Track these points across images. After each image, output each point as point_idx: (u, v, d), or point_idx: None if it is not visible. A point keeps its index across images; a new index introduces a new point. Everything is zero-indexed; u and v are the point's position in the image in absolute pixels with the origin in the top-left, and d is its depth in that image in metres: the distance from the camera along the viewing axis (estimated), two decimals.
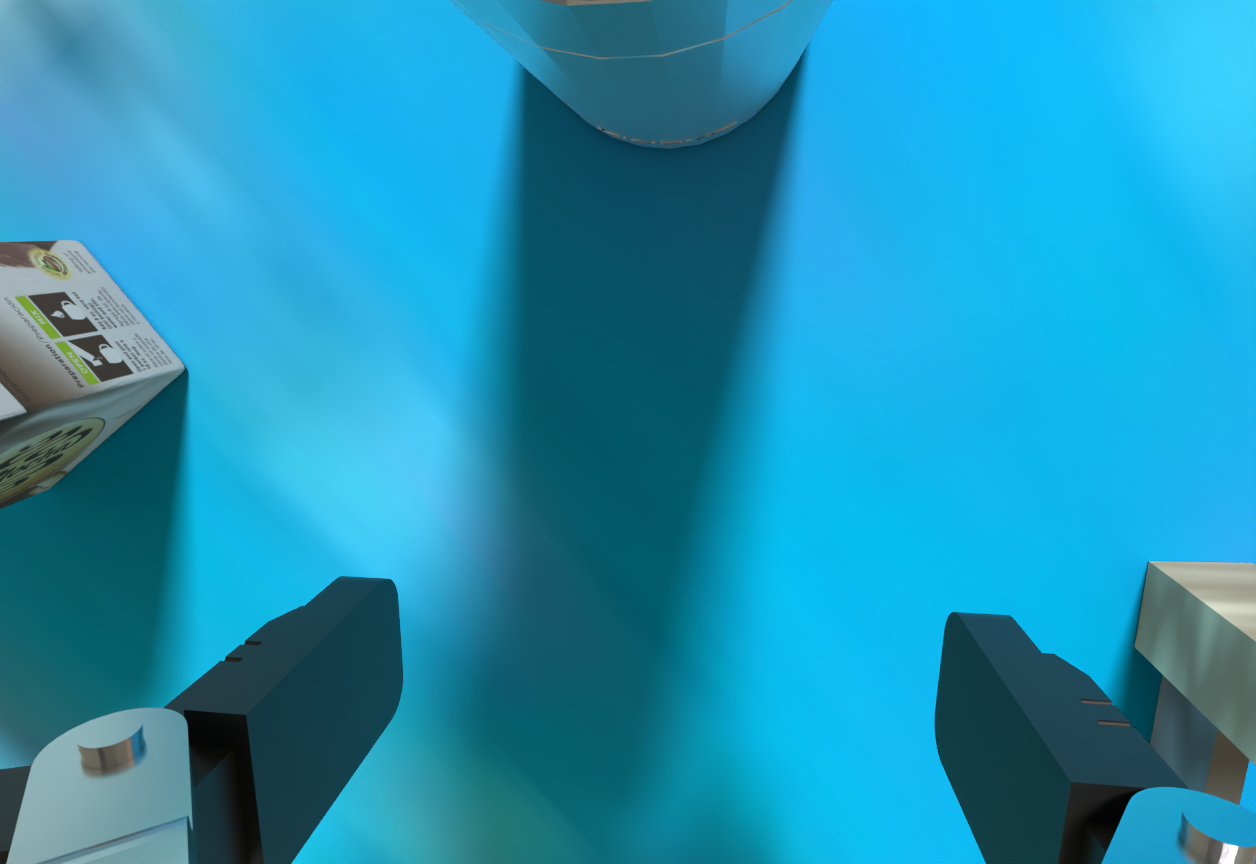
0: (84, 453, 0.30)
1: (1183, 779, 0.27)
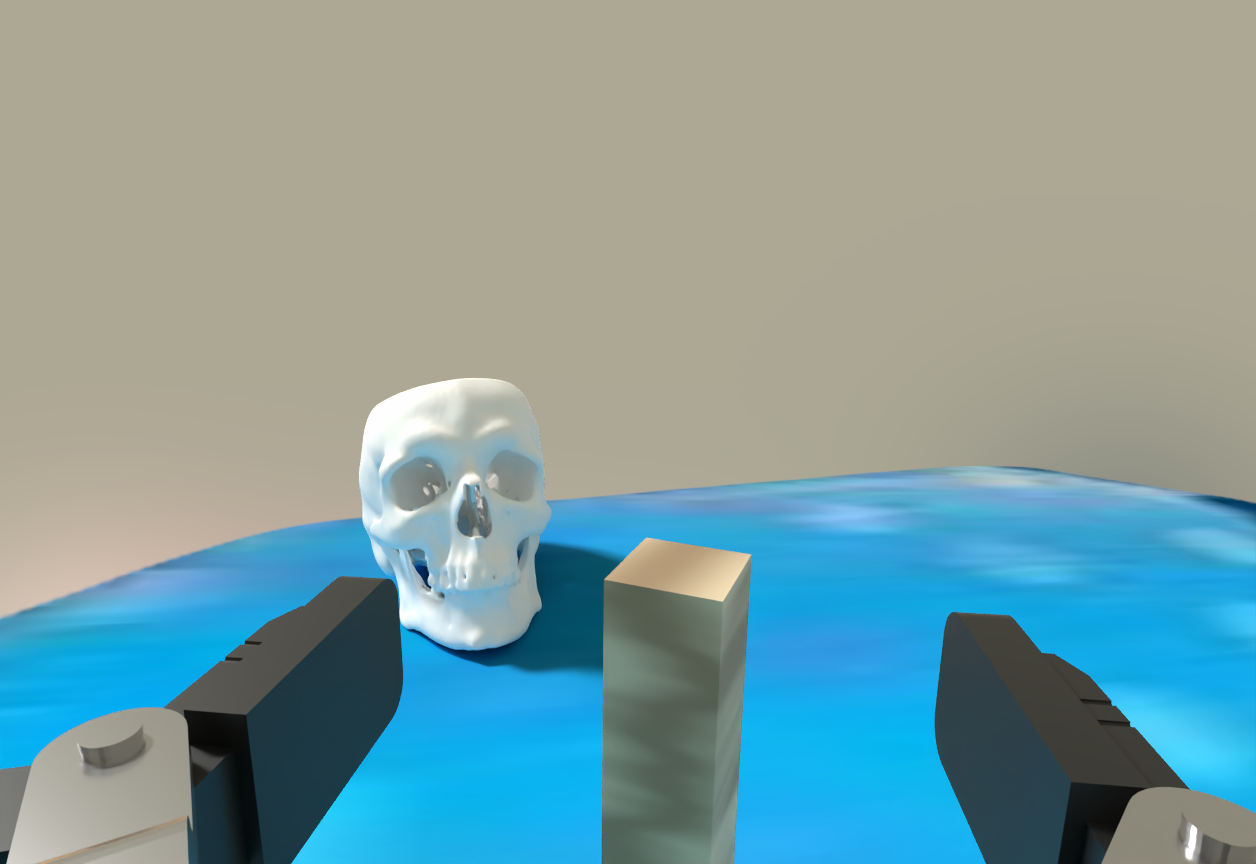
0: None
1: None
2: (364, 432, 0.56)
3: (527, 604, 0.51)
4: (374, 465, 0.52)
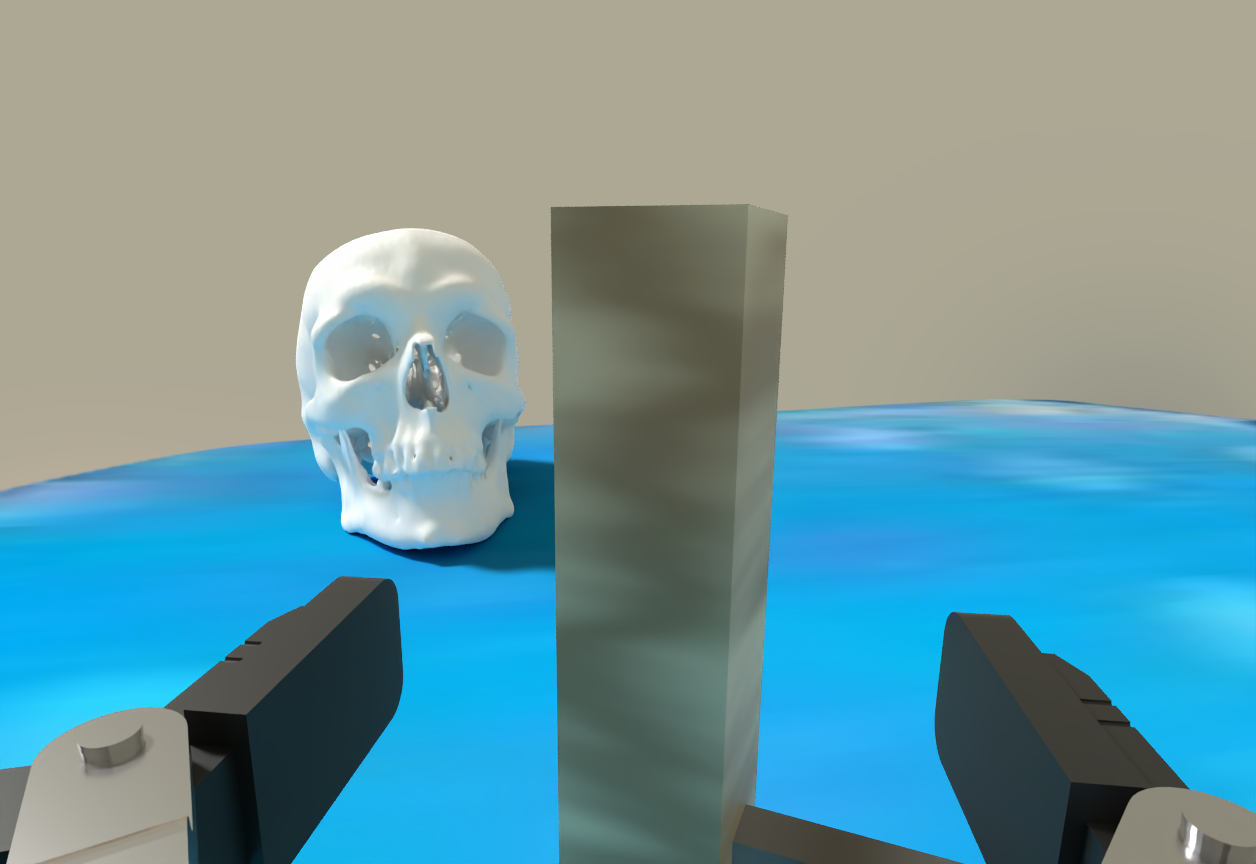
0: None
1: None
2: None
3: (494, 502, 0.42)
4: (309, 338, 0.43)
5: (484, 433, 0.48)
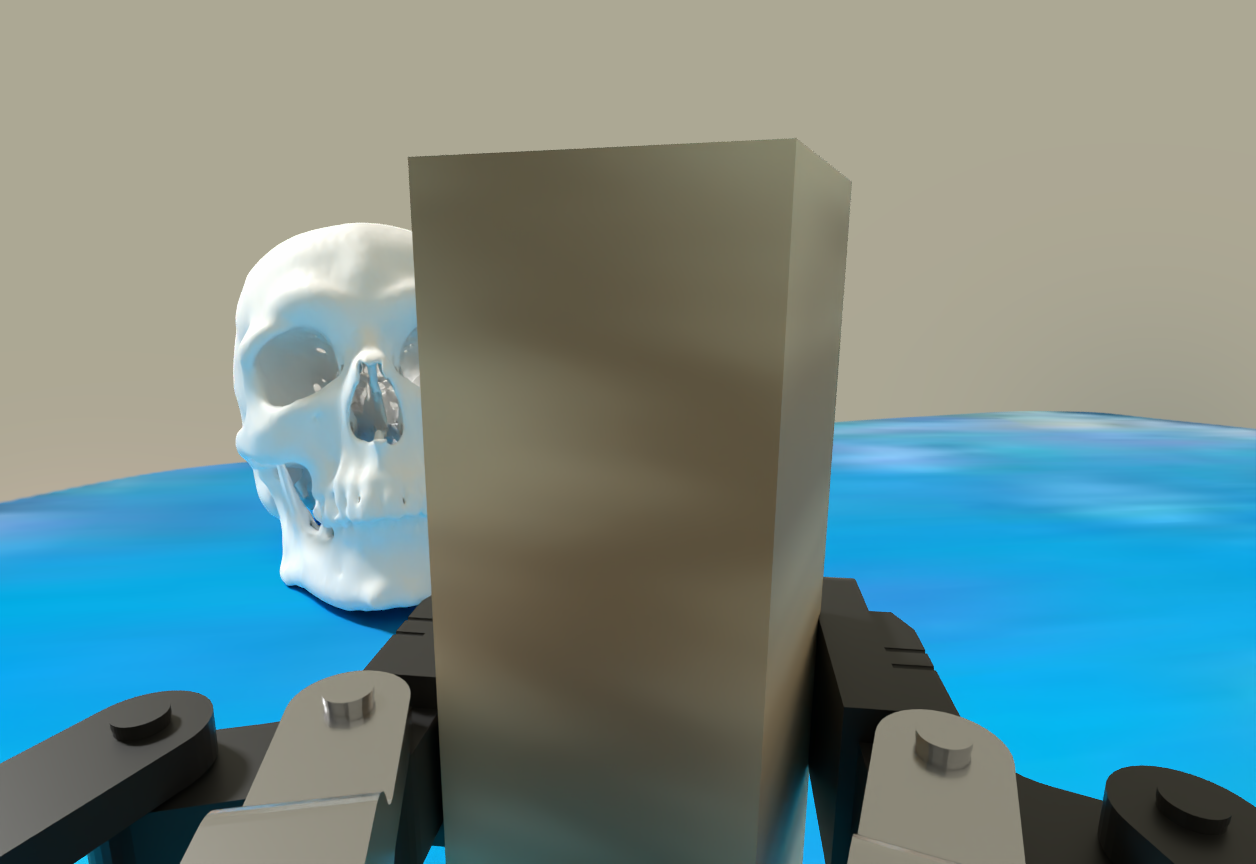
0: None
1: None
2: None
3: None
4: None
5: None
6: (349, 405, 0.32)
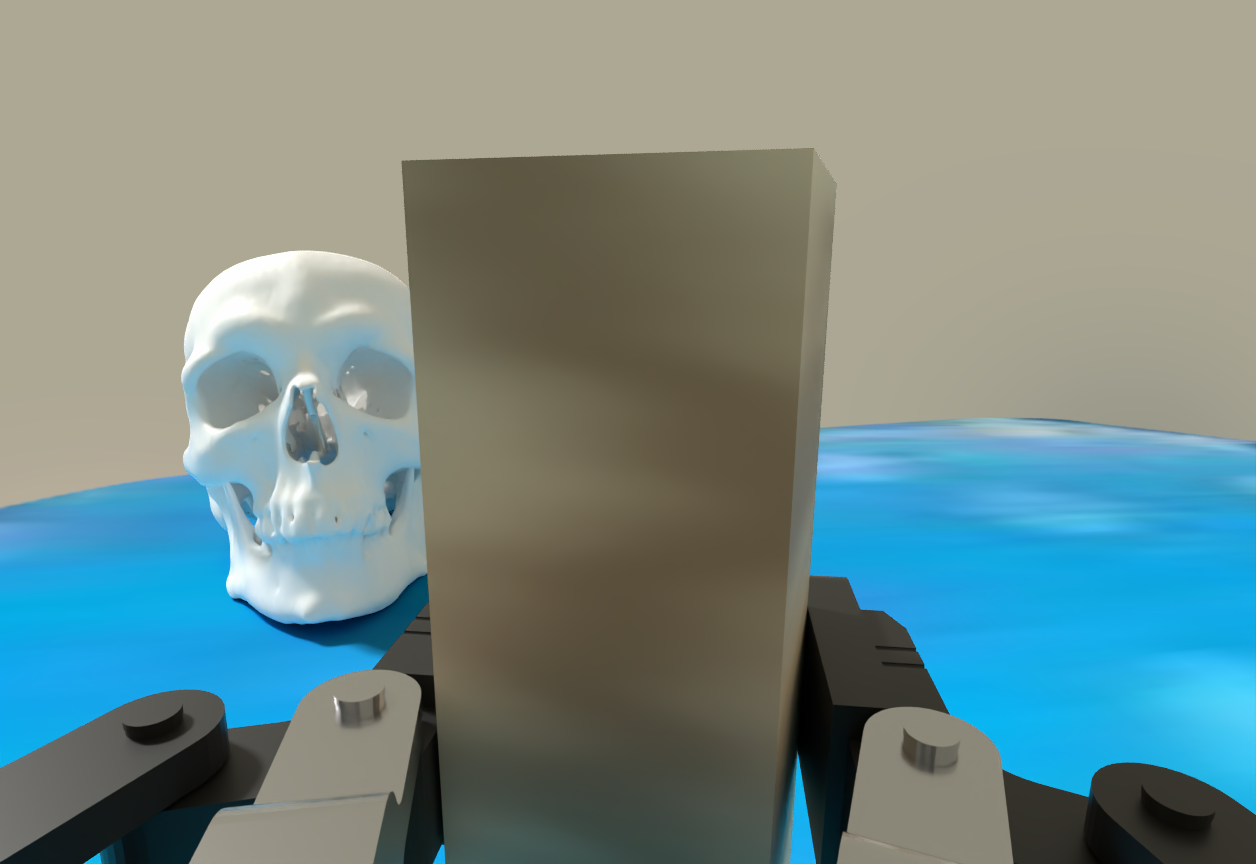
0: None
1: None
2: None
3: (399, 562, 0.37)
4: None
5: (401, 477, 0.43)
6: (284, 428, 0.33)
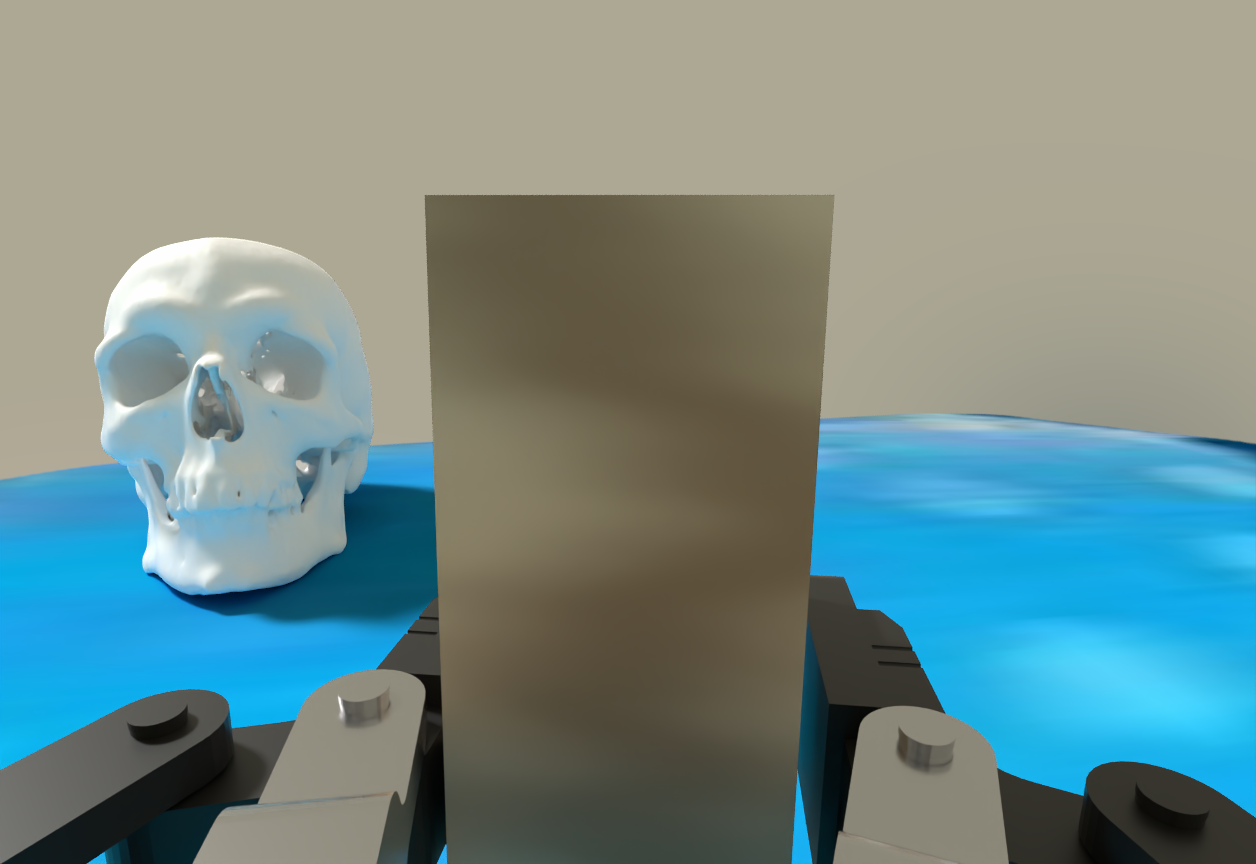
0: None
1: None
2: None
3: (309, 539, 0.38)
4: None
5: None
6: (190, 405, 0.35)
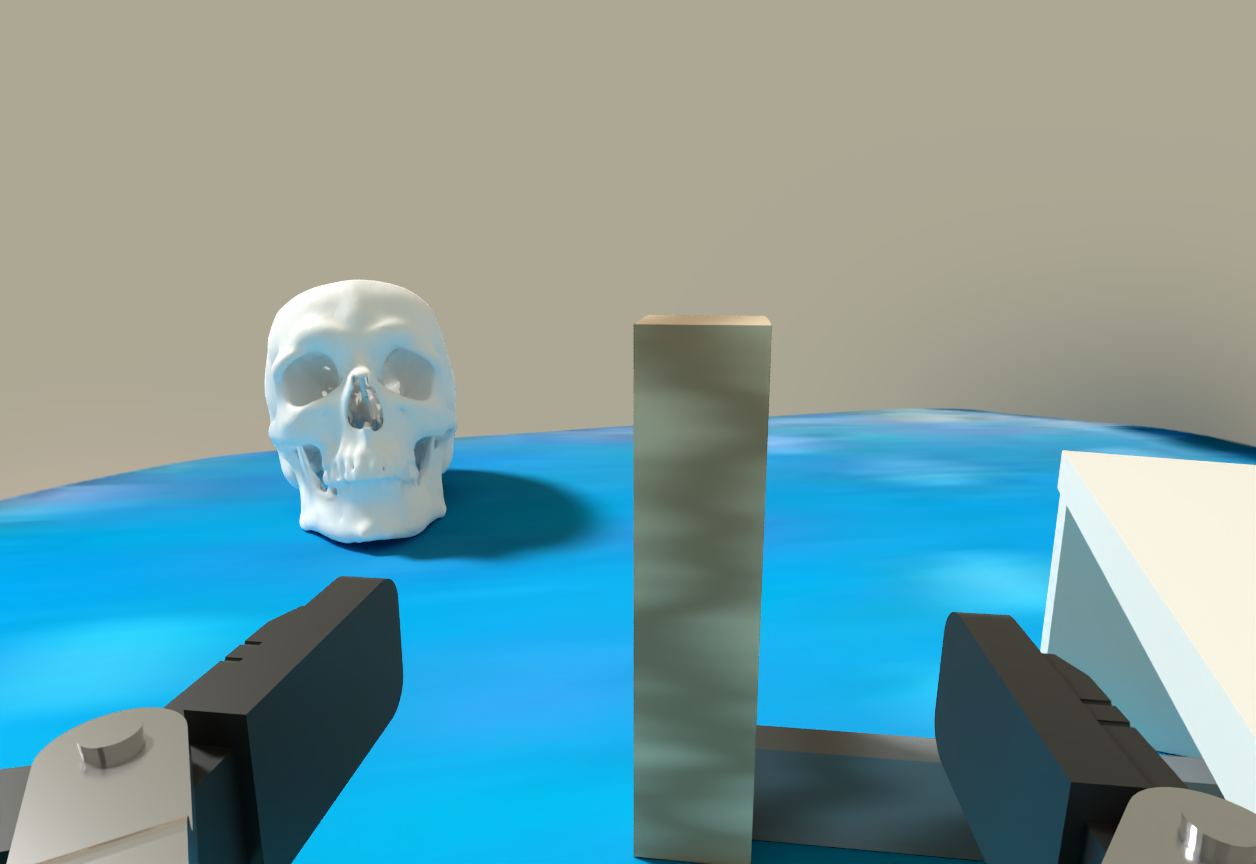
0: None
1: (889, 790, 0.23)
2: None
3: (425, 504, 0.51)
4: None
5: (424, 447, 0.57)
6: (346, 405, 0.48)
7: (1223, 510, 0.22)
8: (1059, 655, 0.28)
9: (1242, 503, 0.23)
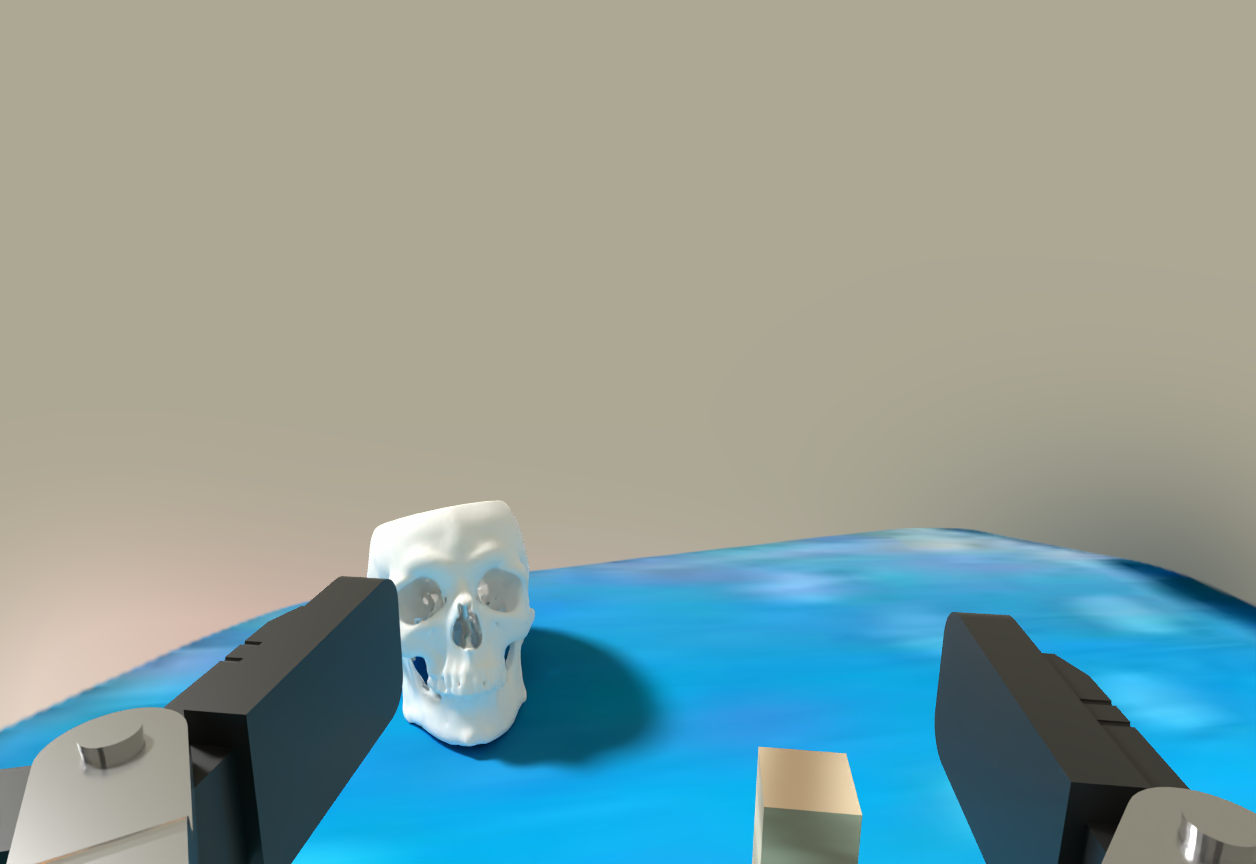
0: None
1: None
2: (371, 544, 0.64)
3: (513, 699, 0.59)
4: None
5: None
6: (452, 627, 0.56)
7: None
8: None
9: None
